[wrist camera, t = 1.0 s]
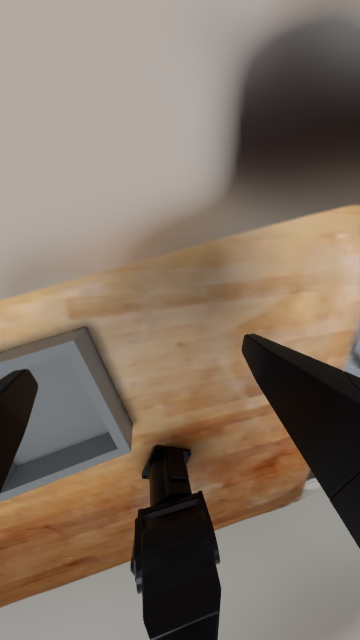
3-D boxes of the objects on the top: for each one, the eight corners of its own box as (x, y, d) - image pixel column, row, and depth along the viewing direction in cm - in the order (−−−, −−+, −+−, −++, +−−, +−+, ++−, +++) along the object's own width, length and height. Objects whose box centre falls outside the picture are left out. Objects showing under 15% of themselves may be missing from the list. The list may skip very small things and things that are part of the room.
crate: (132, 424, 26) (131, 451, 22) (17, 467, 24) (-5, 503, 21) (85, 326, 21) (73, 340, 17) (-66, 372, 19) (-117, 398, 15)
